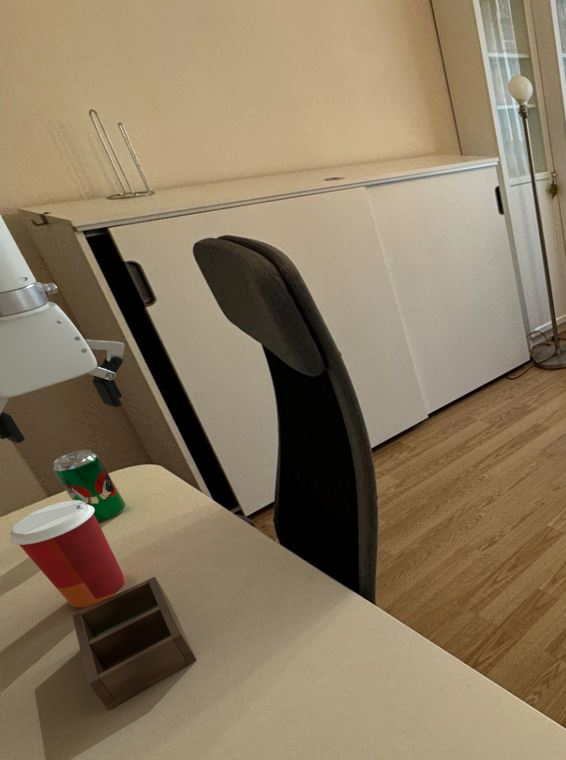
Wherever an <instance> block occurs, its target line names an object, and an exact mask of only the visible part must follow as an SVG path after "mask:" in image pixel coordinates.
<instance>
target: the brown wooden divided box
mask: <svg viewBox="0 0 566 760" xmlns="http://www.w3.org/2000/svg"><path fill="white" fill-rule="evenodd" d="M71 618H72V622H73V626H74V630H75V635H76V638H77V639H76V640H77V643H78V646H79V650H80V655H81V658H82V662H83V666H84V670H85V674H86V678H87V683H88V685H89V687H91V689H92V691H94V693H95V695H96V696H97V697H98V698H99V700H100V701H101V702H102V704H103V705H104V707H105V708H106V709H107V710H108V711H111V710H113V709H115V708H117V707H118V706H119V705H121V704H124V703H125V702H127V701H128V700H130V699H132V698H134V697H135V696H137V695H139V694H140V693H142V692H144V691H145V690H148V689H149V688H151V687H153V686H155V685H156V684H158V683H160V682H161V681H163V680H165V679H167V678H168V677H170V676H172V675H174V674H175V673H177V672H179V671H180V670H183V669H184V668H186V667H187V666H189V665H191V664H193V663H194V662H196V661H197V657H196V655H195V652H194V650H193V649H192V647H191V644H190V642H189V640H188V638H187V635H186V634H185V631H184V629H183V627H182V625H181V622H180V620H179V618H178V616H177V613H176V611H175V610H174V607H173V605H172V603H171V601H170V599H169V598H168V596H167V594H166V593H165V591H164V589H163V587H162V585H161V584H160V582H159V581H158V579H157V577H156V576H152V577H150V578H148V579H147V580H144V581H142V582H139V583H137V584H136V585H133V586H132V587H129V588H127V589H125V590H123V591H121V592H118V593H115V594H113V595H112V596H110V597H109V598H107V599H105V600H103V601H101V602H98V603H96V604H93V605H90V606H88V607H87V608H85V609H82V610H80V611H78V612H77V613H75V614H72V615H71Z"/></svg>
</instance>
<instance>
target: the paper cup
mask: <svg viewBox="0 0 566 760" xmlns="http://www.w3.org/2000/svg"><path fill="white" fill-rule="evenodd" d="M94 511H95V510H94V507H93V506H90V505H87V504H86V503H85V502H83V501H80V500H72V499H71V500H66V501H61V502H57V503H54V504H50V505H48V506H45V507H43V508H39V509H37V510H35V511H34V512H32V513H30V514H28V515H26V516H25V517H23V518H22V519H20V520H19V521H17V522H16V523H15V524H14V525H13V527H12V530H10V534H9V535H10V537H9V543H10V544H13V545H19V547H20V548H21V549H22V550H23V551H24V552H25V554H26V555H27V556H28V557H29V558H30V559H31V560H32V562H33V563H34V564H35V565H36V566H37V568H38V569H39V570H40V571H41V572H42V574H44V576H45V577H46V578H47V579H48V580H49V582H50V583H51V584H52V585H53V586H54V587H55V589H57V590H58V592H59V593H60V594H61V595H62V596H63V597H64V598H65V600H66V601H67V602H68V603H69V604H70V605H71V606H72V607H74V608H86V607H91V606H93V605H95V604H97V603H99V602H101V601H104V600H106V599H108V598H110V597H112V596H114V595H116V594H117V592H119V591H120V590H122V588H123V587H124V585H125V583H126V577H125V575H124V573H123V571H122V569H121V567H120V565H119V562H118V560H117V558H116V556H115V555H114V552H113V550H112V548H111V547H110V544H109V541H108V540H107V537H106V536H105V533H104V531H103V529H102V527H101V525H100V522H98V521H97V519H96V518H95V516H94V514H93V513H94Z"/></svg>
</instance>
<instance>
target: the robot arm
mask: <svg viewBox="0 0 566 760" xmlns="http://www.w3.org/2000/svg"><path fill="white" fill-rule="evenodd" d="M55 293H56V294H57V293H59V288H58V287H57V285H56V284H55V283H54V282H48V283H44V282H42V283H41V282H39V281H37V279H36V277H35V276H34V274H33V273H32V270H31V269H30V267H29V265H28V263H27V262H26V260H25V257H24V256H23V254H22V252H21V250H20V248H19V246H18V245H17V243H16V241H15V239H14V237H13V235H12V234H11V232H10V230H9V228H8V226H7V224H6V223H5V220H4V219H3V216H2V215H1V214H0V440H5V439H7V440H8V441H11V442H13V443H16V444H20V443H23V442H24V441H25V440H26V438H25V437H24V435H23V433H22V432H21V430H20V428H19V427H18V425H17V424H16V422H15V421H14V419H13V417H12V416H11V415H10V414H8V413H7V412H4V409H5V407H6V406H7V404H8V403H9V401H10V398H15V397H18V396H22V395H26V394H28V393H31V392H34V391H37V390H41V389H44V388H48V387H50V386H54V385H56V384H60V383H63V382H66V381H70V380H72V379H76V378H78V377H82V376H84V375H87V374H88V375H90V376H93V378H92V384H93V386H94V388H95V390H96V392H97V393H98V395H99V397H100V399H101V400H102V402H103V404H104V405H107V406H110V407H113V408H118V407H121V406H122V403H121V400H120V399H121V398H122V397H123V395H122V393H121V390H120V389H119V387H118V385H117V383H116V381H115V378H117V372H118V370H119V369H120V367H121V366H122V364H123V362H124V360H123V357H124V352H125V349H126V348H125V347H126V345H125V343H124V342H120V341H117V340H103V339H102V340H100V339H85V338H84V337H83V335H82V334H81V332H80V331H79V330H78V328H77V327H76V325H74V323H73V322H72V320H71V318H69V317H68V315H67V314H66V313H65V312H64V311H63V310H62V308H61V307H60V306H59V305H58V304H57V303H55V302H53V301H50V299H49V296H51V295H52V294H55ZM92 350H95V351H106V357H105V359H104V360H103V361H102V363H101V365H100V366H98V360H97V358H96V357H95V355H94V352H93V351H92Z"/></svg>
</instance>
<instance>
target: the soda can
mask: <svg viewBox="0 0 566 760" xmlns="http://www.w3.org/2000/svg"><path fill="white" fill-rule="evenodd" d="M52 463H53V465H54V466H53V468H52V471H53V472H54V474H55V475H56V478H58V480H59V482H60V483H61V485H62V486H63V488H64V490H65V491H66V493H67V494H68V496H69V498H70V499H71V501H72V500H80V501H83V502H85V503H86V504H87V505H90V506H93V507H94V510H95V511H94V513H93V514H94V516H95V518H96V519H97V521H98V523H100V522H104V521H106V520H110V519H112V518H115V517H116V516H118V515H119V514H121V513H122V512H123V511H124V509H125V508H126V505H127V503H126V502H125V500H124V498H123V497H122V494H121V493H120V491H119V489H118V488H117V486H116V484H115V482H114V481H113V479H112V477H111V476H110V474H109V472H108V471H107V469H106V467H105V465H104V464H103V462H102V461H101V459H100V457H99V455H98V454H97V453H95V452H92V450H90V449H80V450H76V451H72V452H69V453H66V454H64V455H61V456H60V457H58V458H56V459H54V461H53V462H52Z"/></svg>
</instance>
